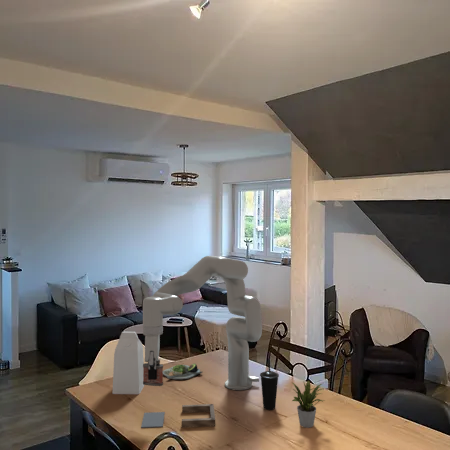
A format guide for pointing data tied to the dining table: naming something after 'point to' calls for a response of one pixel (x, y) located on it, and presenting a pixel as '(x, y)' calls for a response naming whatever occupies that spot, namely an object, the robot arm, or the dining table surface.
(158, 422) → the grey mat
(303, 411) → the house plant
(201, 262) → the robot arm
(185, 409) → the walnut stand
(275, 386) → the drinking cup
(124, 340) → the milk
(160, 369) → the lighter
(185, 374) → the salad plate
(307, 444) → the dining table surface
